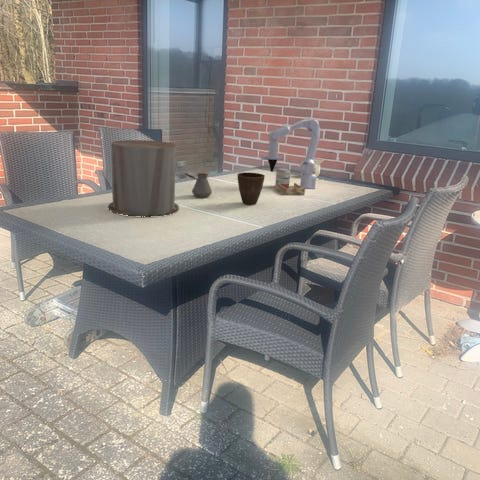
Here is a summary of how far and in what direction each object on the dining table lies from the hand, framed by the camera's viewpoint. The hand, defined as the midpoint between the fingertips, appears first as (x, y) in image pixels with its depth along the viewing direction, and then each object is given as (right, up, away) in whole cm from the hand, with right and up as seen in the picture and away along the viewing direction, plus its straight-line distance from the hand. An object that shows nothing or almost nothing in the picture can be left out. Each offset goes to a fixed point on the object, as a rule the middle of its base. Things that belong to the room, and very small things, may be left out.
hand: (271, 171), depth 321 cm
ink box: (+7, -10, +6) cm, 13 cm away
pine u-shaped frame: (+11, -14, -8) cm, 19 cm away
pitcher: (+31, +1, +46) cm, 56 cm away
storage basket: (-69, -28, -68) cm, 101 cm away
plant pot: (-15, -24, -44) cm, 53 cm away
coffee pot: (-45, -20, -38) cm, 62 cm away
